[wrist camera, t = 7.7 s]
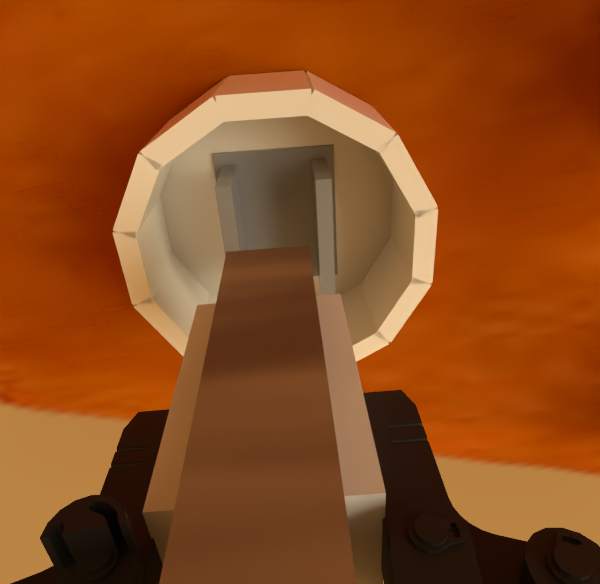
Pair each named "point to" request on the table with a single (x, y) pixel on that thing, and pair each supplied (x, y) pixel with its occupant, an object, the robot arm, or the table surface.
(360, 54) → the table surface
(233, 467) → the tall brown wooden block
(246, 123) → the white round bowl
